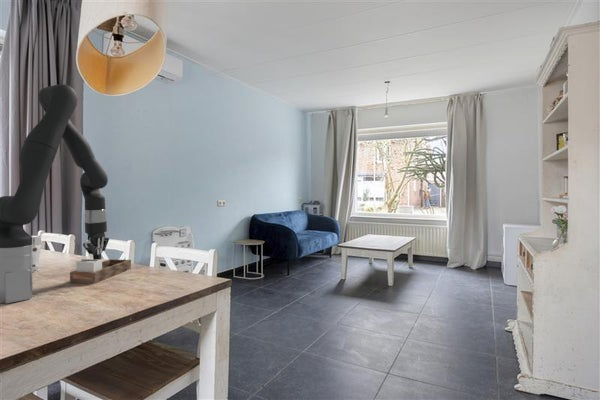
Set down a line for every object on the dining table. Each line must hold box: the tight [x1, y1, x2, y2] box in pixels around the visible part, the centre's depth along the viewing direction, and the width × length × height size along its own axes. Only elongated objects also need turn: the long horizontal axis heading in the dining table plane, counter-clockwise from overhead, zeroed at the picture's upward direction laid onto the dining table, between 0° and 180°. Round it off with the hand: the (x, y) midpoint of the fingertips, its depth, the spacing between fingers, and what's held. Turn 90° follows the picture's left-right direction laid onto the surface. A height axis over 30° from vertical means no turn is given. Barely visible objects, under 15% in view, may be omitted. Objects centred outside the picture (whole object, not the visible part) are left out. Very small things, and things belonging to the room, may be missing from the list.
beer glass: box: [30, 235, 42, 273], centre depth 143 cm, size 7×7×15 cm
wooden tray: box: [69, 258, 132, 284], centre depth 139 cm, size 24×10×4 cm, turn 177°
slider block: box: [76, 258, 103, 272], centre depth 131 cm, size 5×7×6 cm
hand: (97, 263), depth 135 cm, fingers closed
